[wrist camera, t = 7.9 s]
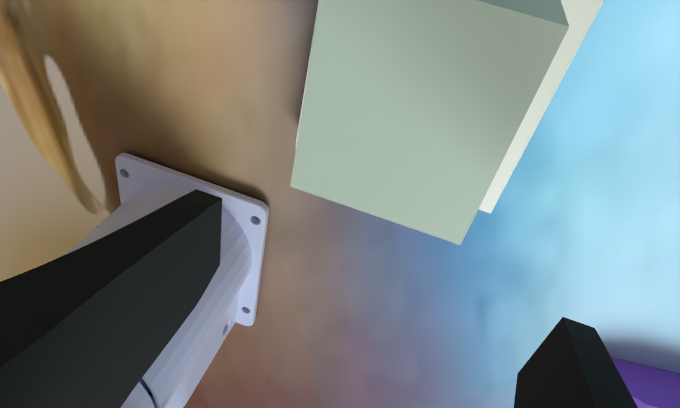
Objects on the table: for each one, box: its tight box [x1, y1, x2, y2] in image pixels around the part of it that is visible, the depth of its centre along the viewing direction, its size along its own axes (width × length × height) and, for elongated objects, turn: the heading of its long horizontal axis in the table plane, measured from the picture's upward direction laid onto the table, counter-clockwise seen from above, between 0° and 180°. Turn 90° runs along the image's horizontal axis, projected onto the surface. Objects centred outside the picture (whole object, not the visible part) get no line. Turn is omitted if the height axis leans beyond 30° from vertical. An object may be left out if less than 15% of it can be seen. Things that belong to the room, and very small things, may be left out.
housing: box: [290, 0, 569, 245], centre depth 13 cm, size 6×5×5 cm
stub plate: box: [295, 0, 604, 213], centre depth 14 cm, size 10×8×4 cm
